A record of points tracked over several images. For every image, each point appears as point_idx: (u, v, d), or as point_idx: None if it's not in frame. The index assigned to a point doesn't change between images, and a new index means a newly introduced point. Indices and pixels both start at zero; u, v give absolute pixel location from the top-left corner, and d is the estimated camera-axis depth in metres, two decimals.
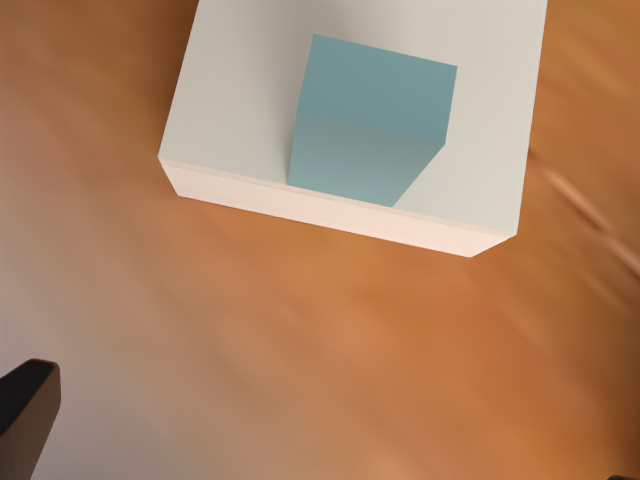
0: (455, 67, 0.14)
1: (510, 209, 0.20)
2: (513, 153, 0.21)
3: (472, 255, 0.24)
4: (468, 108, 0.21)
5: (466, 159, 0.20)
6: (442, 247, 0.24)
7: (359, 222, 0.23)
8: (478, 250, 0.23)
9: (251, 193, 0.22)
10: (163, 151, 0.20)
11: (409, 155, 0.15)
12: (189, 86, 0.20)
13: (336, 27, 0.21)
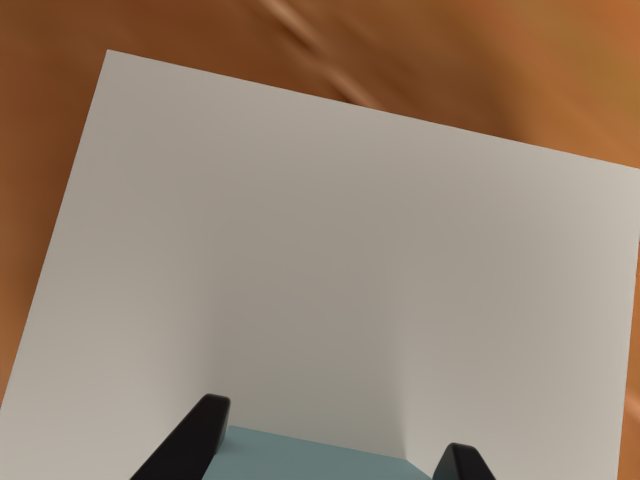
0: None
1: None
2: (596, 456, 0.12)
3: None
4: (518, 375, 0.12)
5: (516, 471, 0.12)
6: None
7: None
8: None
9: None
10: None
11: None
12: (40, 354, 0.12)
13: (297, 236, 0.12)
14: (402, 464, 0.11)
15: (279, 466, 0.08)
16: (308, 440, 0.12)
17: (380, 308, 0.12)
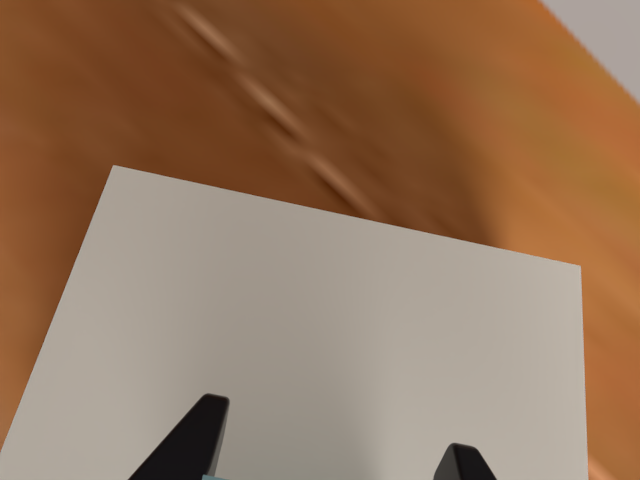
0: None
1: None
2: None
3: None
4: (488, 450, 0.13)
5: None
6: None
7: None
8: None
9: None
10: None
11: None
12: (30, 434, 0.12)
13: (278, 322, 0.14)
14: None
15: None
16: None
17: (356, 387, 0.13)
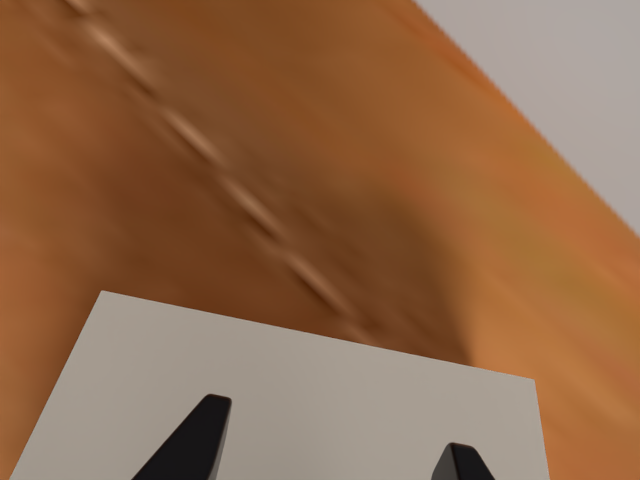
0: None
1: None
2: None
3: None
4: None
5: None
6: None
7: None
8: None
9: None
10: None
11: None
12: None
13: (255, 432, 0.14)
14: None
15: None
16: None
17: None
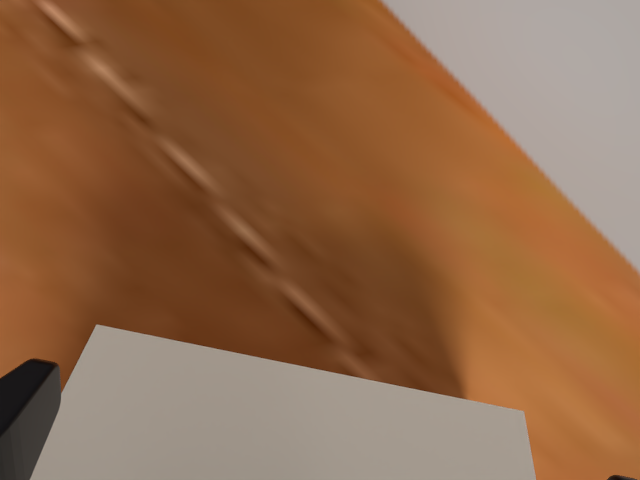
0: None
1: None
2: None
3: None
4: None
5: None
6: None
7: None
8: None
9: None
10: None
11: None
12: None
13: (248, 464, 0.14)
14: None
15: None
16: None
17: None
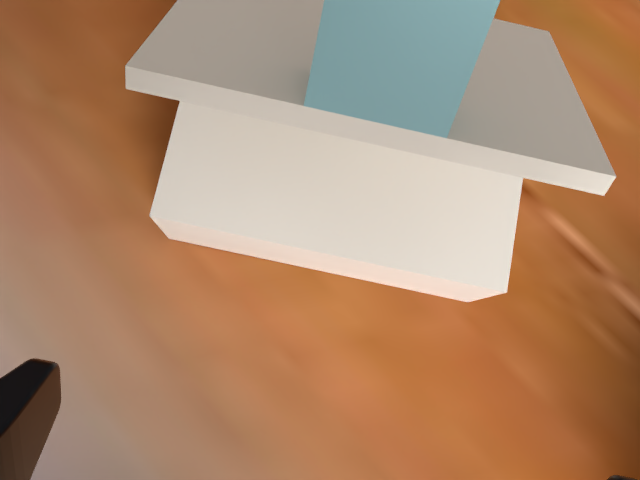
0: None
1: (595, 155, 0.15)
2: (573, 115, 0.17)
3: None
4: (506, 81, 0.18)
5: (521, 113, 0.16)
6: (439, 293, 0.23)
7: (354, 270, 0.22)
8: (476, 298, 0.23)
9: (243, 242, 0.21)
10: (134, 62, 0.14)
11: None
12: (174, 26, 0.16)
13: None
14: None
15: None
16: None
17: None
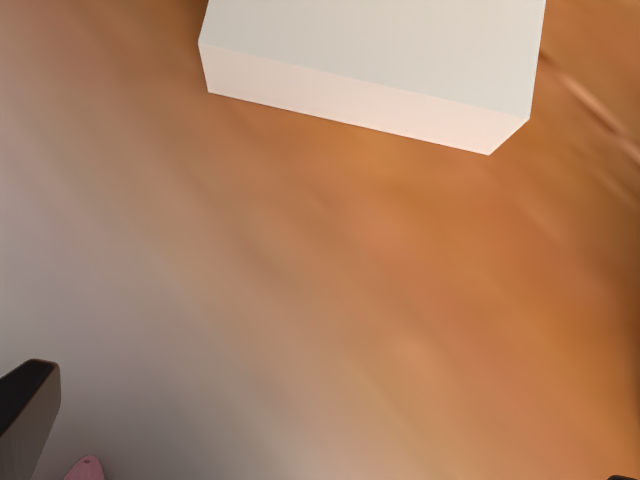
0: None
1: None
2: None
3: (491, 151, 0.25)
4: None
5: None
6: (463, 142, 0.25)
7: (384, 112, 0.23)
8: (498, 142, 0.24)
9: (282, 79, 0.22)
10: None
11: None
12: None
13: None
14: None
15: None
16: None
17: None
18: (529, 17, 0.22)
